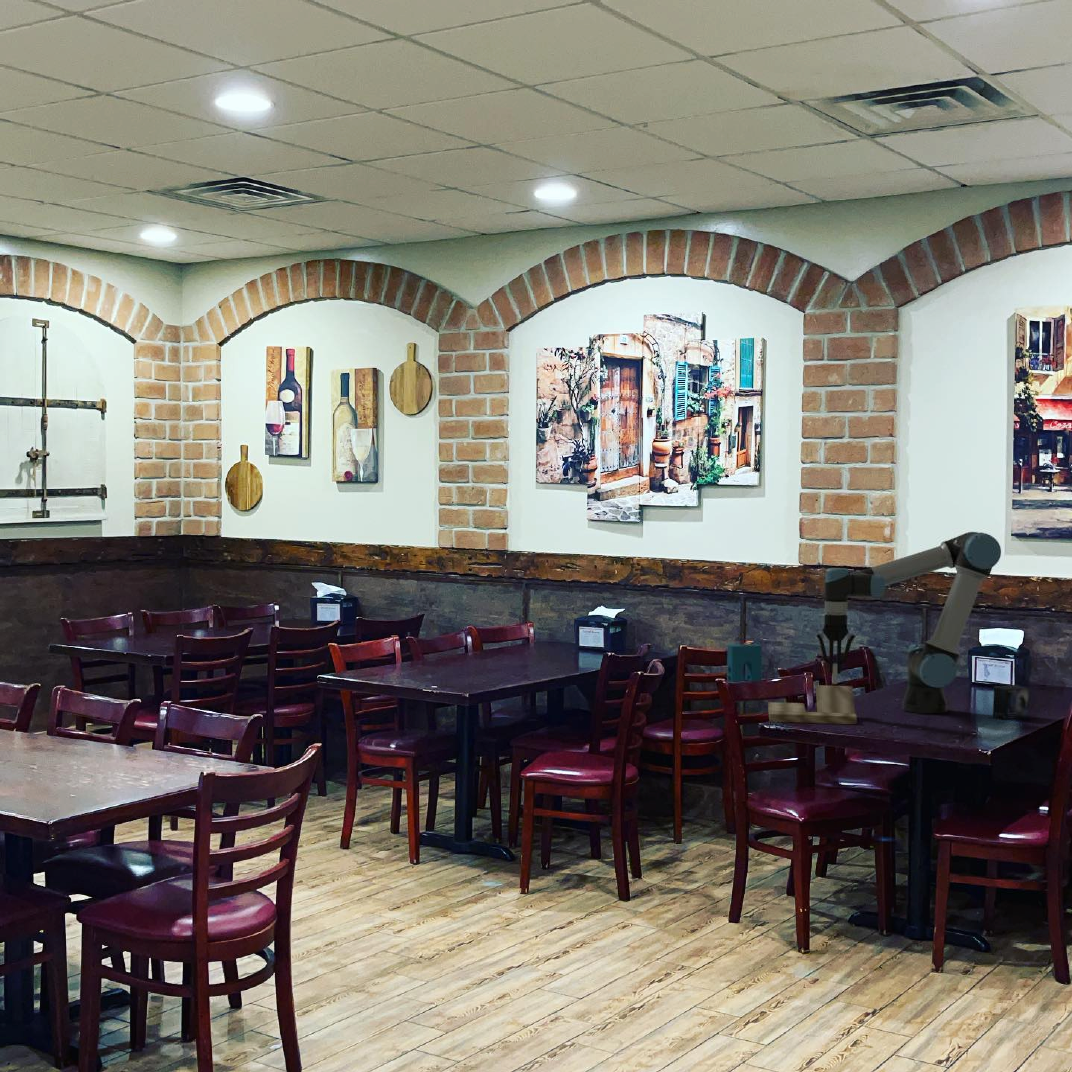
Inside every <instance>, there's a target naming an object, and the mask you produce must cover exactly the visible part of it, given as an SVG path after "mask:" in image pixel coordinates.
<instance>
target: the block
mask: <svg viewBox="0 0 1072 1072" xmlns="http://www.w3.org/2000/svg"><path fill="white" fill-rule="evenodd" d="M726 647H727V649H726V651H727V657H726V664H727V665H726V669H727V670H726V682H727V681H730V682H740V681H761V682H762V659H763V658H762V655H763V654H762V653H763V646H762V644H757V643H751V644H750V643H748V644H747V643H744V644H727V646H726ZM744 668H745V669H744ZM757 700H758V699H757ZM757 700H747V701H749V702H757ZM741 702H742V703H743V702H746V700H745V701H738V702H737V703H741Z"/></svg>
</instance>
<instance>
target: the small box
mask: <svg viewBox="0 0 1072 1072" xmlns="http://www.w3.org/2000/svg"><path fill="white" fill-rule="evenodd" d="M1029 696H1030V688H1029V687H1026V686H1022V685H1018V684H1012V685H1011V684H1010V685H997V686H996V685H995V686H994V687H993V705H992V717H993V718H997V719H1002V720H1014V719H1015V720H1016V719H1017V720H1018V719H1028V718H1029V702H1030V701H1029V700H1030V698H1029Z"/></svg>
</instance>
